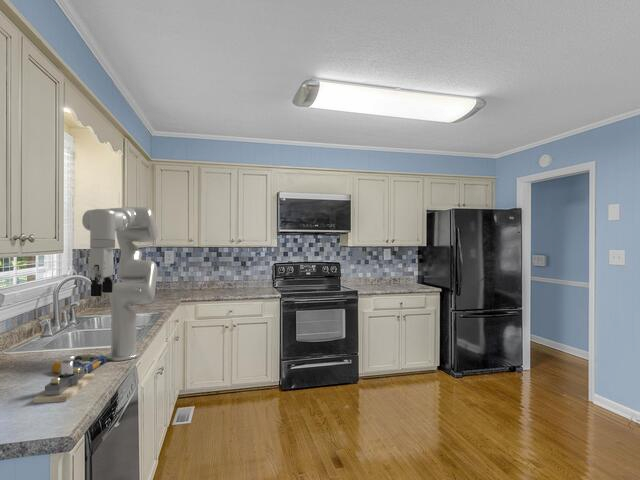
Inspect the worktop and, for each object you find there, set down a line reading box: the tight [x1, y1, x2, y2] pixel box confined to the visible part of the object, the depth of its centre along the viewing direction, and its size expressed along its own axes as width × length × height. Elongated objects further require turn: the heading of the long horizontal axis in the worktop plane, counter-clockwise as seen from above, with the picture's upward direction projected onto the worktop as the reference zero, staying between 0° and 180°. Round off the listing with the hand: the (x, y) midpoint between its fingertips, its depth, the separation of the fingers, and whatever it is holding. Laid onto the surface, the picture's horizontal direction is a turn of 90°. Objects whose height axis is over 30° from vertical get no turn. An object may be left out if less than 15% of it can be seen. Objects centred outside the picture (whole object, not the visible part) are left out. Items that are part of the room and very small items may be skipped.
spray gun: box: [50, 353, 108, 375], centre depth 142 cm, size 21×4×15 cm
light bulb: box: [59, 354, 76, 378], centre depth 123 cm, size 4×4×9 cm
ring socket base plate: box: [33, 367, 95, 404], centre depth 122 cm, size 20×9×6 cm, turn 11°
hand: (102, 294), depth 129 cm, fingers open, 9 cm apart
